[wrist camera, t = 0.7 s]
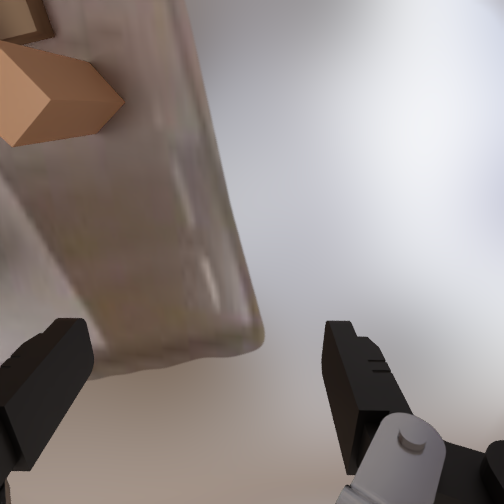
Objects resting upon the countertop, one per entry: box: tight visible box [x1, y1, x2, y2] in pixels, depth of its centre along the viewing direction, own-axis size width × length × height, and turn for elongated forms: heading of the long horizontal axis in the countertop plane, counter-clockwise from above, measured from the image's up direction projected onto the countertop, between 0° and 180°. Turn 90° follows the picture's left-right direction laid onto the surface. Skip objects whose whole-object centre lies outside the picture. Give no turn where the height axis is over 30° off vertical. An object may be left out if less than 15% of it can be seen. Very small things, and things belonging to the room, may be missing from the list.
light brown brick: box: [0, 40, 125, 147], centre depth 26 cm, size 4×4×12 cm
